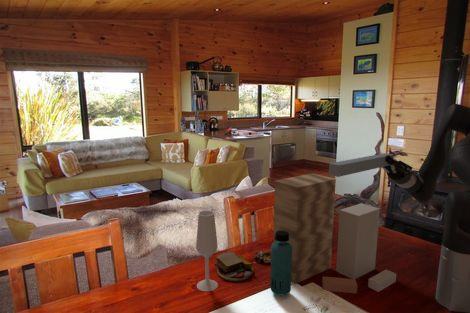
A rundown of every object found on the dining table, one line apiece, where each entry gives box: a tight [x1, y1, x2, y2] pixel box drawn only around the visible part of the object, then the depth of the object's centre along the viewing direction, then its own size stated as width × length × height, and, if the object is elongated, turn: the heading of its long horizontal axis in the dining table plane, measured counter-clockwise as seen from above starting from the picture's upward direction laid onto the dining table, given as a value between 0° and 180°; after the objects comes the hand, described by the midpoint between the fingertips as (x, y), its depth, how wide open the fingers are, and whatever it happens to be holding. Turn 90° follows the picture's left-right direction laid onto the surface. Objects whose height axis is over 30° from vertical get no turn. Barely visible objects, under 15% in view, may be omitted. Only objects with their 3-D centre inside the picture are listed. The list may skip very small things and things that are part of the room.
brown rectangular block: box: [321, 276, 358, 294], centre depth 105 cm, size 10×4×3 cm, turn 81°
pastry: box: [252, 249, 271, 265], centre depth 123 cm, size 7×12×4 cm, turn 81°
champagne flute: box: [195, 210, 219, 292], centre depth 105 cm, size 7×7×24 cm
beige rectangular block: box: [367, 269, 397, 293], centre depth 108 cm, size 10×4×3 cm, turn 126°
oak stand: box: [272, 172, 337, 284], centre depth 114 cm, size 18×10×32 cm, turn 126°
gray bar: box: [328, 152, 395, 178], centre depth 110 cm, size 30×4×4 cm, turn 126°
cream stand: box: [335, 202, 381, 280], centre depth 115 cm, size 12×7×22 cm, turn 126°
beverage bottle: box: [269, 230, 292, 296], centre depth 101 cm, size 6×7×20 cm
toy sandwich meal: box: [214, 251, 254, 282], centre depth 115 cm, size 12×14×5 cm
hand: (381, 156), depth 115 cm, fingers closed on gray bar, 3 cm apart
